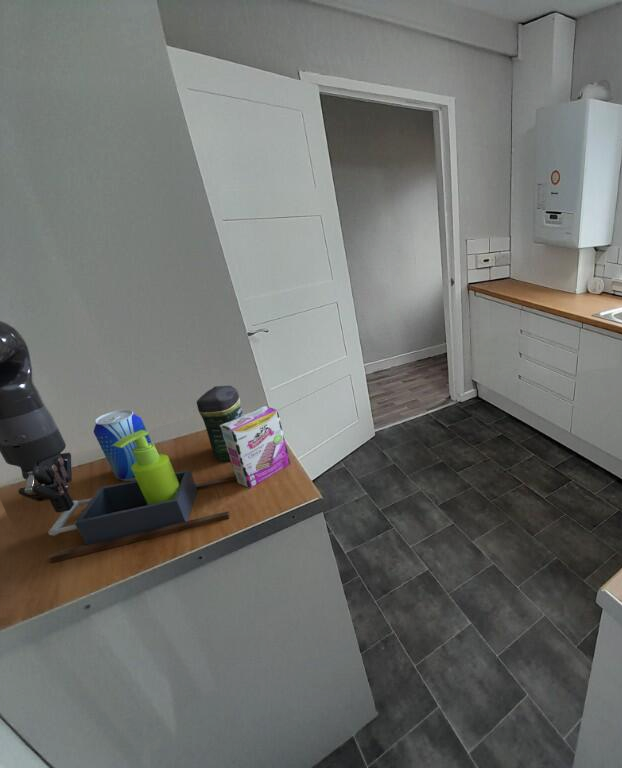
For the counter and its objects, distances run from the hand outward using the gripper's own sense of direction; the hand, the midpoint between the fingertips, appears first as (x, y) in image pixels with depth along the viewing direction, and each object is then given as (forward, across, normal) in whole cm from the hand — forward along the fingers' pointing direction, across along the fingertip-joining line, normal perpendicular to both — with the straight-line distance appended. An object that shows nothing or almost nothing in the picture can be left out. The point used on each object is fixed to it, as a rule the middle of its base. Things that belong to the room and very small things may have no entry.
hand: (65, 509), depth 80 cm
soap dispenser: (+6, 0, +15) cm, 16 cm away
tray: (+6, 0, +9) cm, 11 cm away
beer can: (+6, -20, +5) cm, 21 cm away
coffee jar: (+6, -21, +25) cm, 33 cm away
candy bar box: (+6, -7, +33) cm, 34 cm away
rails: (+6, 0, +13) cm, 14 cm away
